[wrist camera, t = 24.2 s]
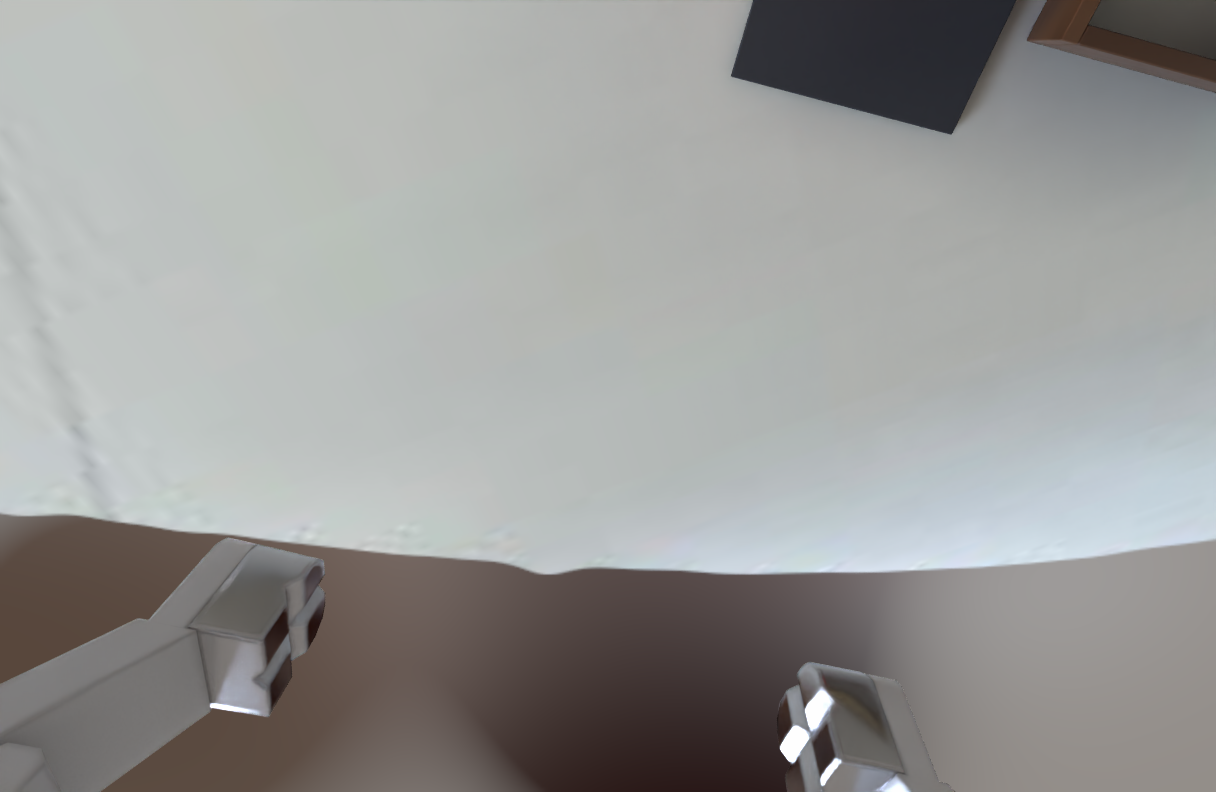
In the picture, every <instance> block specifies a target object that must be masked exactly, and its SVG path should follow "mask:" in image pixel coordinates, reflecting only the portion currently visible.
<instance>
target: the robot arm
mask: <svg viewBox="0 0 1216 792" xmlns="http://www.w3.org/2000/svg"><path fill="white" fill-rule="evenodd" d="M324 575H325V571H324V561H323V560H321V559H316V558H313V557H309V556H304V555H300V554H296V553H292V552H288V551H284V550H280V549H276V548H271V547H267V546H263V545H259V544H254V543H249V542H245V541H241V540H236V539H232V538H226V539H224V540H222V541H221V542H219V543H217V544H216V545H215V546H214V547H213V548H212V549H211V550H210V551H209V553H208V554H207V555H206V556H205V557H204V558H203V559H202V560H201V561H200V563H199V564H198V565H197V566H196V567H195V568H194V569H193V570H192V572H191V573H190V574H189V575H188V576H187V577H186V578H185V579H184V581H183V582H182V583H181V584H180V585H179V586H178V587H177V588H176V590H175V591H174V592H173V593H172V594H171V595H170V596H169V597H168V598H167V600H166V601H165V602H164V603H163V604H162V605H161V606H160V607H159V609H158V610H157V611H156V612H155V613H154V614H153V615H152V616H151V618H150V619H149V620H145V619H139V618H138V619H136V620H134V621H131V622H130V623H127V624H125V625H123V626H121V627H119V628H117V629H115V630H113V631H110V632H108V633H106V634H104V635H102V636H100V637H98V638H96V639H94V640H92V641H90V642H87V643H86V644H83V645H81V646H79V647H77V648H75V649H73V650H71V651H69V652H66V653H65V654H62V655H60V656H58V657H56V658H54V659H52V660H50V661H48V662H46V663H44V664H41V665H39V666H37V667H35V668H33V669H31V670H29V671H27V672H25V673H22V674H20V675H18V676H16V677H14V678H12V679H10V680H8V681H6V682H4V683H2V684H0V792H100V791H102V790H103V789H104V788H106V787H107V786H109V785H110V784H111V783H113V782H114V781H115V780H117V779H118V778H119V777H121V776H122V775H124V774H125V773H126V772H128V771H129V770H131V769H132V768H133V767H135V766H136V765H137V764H139V763H140V762H141V761H143V760H144V759H146V758H147V757H148V756H150V755H151V754H152V753H154V752H155V751H157V750H158V749H159V748H161V747H162V746H163V745H165V744H166V743H168V742H169V741H170V740H172V739H173V738H174V737H176V736H177V735H179V734H180V733H181V732H183V731H184V730H185V729H187V728H188V727H190V726H191V725H192V724H194V723H195V722H196V721H198V720H199V719H201V718H202V717H203V716H205V715H206V714H207V713H209V712H210V711H211V707H213V708H220V709H225V710H231V711H237V712H243V713H249V714H255V715H261V716H267V717H269V715H270V714H271V712H272V710H273V709H274V707H275V705H276V703H277V702H278V700H279V698H280V697H281V695H282V693H283V692H284V690H285V688H286V686H287V685H288V683H289V681H290V680H291V678H292V667H291V661H292V660H294V659H295V658H297V657H299V656H300V655H302V654H304V653H305V652H307V650H308V648H309V646H310V645H311V643H312V641H313V639H314V638H315V636H316V633H317V631H318V628H319V625H320V623H321V620H322V617H323V613H324V607H325V593H324V591H323V590H322V589H321V588H320V587H319V585H318V584H319V583H320V581H321V580H322V578H323V577H324ZM797 677H798V682H799V685H797V686H795V687H793V688H791V689H788V690H787V691H786V693H785V695H784V696H783V698H782V700H781V702H780V706H779V711H778V717H777V733H778V739H779V745H780V749H781V750H782V752H783V753H784V755H785V756H786V757H787V759H788V760H789V761H790V763H791V766H790V768H789V769H788V771H787V773H786V775H785V780H786V786H787V791H788V792H955V791H954V790H953V789H952V788H951V786H950V785H949V784H947V783H943V782H939V780H938V777H937V775H936V772H935V770H934V767H933V764H932V762H931V759H930V757H929V754H928V752H927V749H926V747H925V744H924V742H923V739H922V736H921V734H920V731H919V729H918V726H917V724H916V721H915V718H914V716H913V713H912V711H911V708H910V706H909V703H908V700H907V698H906V695H905V693H904V690H903V688H902V686H901V685H900V684H899V683H898V682H897V681H896V680H893V679H887V678H883V677H879V676H874V675H869V674H864V673H863V672H857V671H853V670H848V669H843V668H837V667H832V666H827V665H822V664H817V663H812V662H808V663H806V664H804V665H803V666H802V668H801V669H800V670H799V672H798V674H797Z"/></svg>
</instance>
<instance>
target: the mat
mask: <svg viewBox="0 0 1216 792" xmlns="http://www.w3.org/2000/svg"><path fill="white" fill-rule="evenodd" d="M1015 2H1016V0H753V3H752V6H751V10H750V13H749V17H748V20H747V23H746V27H745V30H744V34H743V37H742V40H741V44H740V47H739V51H738V54H737V57H736V61H735V64H734V68H733V71H732V74H731V76H732V77H735V78H739V79H743V80H747V81H750V82H754V83H758V84H762V85H765V86H769V87H773V88H777V89H781V90H784V91H788V92H792V93H796V94H799V95H803V96H807V97H811V98H815V99H818V100H822V101H826V102H830V103H833V104H837V105H841V106H845V107H849V108H852V109H856V110H860V111H864V112H867V113H871V114H875V115H879V116H883V117H886V118H890V119H894V120H898V121H901V122H905V123H909V124H913V125H917V126H920V127H924V128H928V129H932V130H935V131H939V132H943V133H947V134H952V133H953V131H954V129H955V127H956V125H957V122H958V120H959V118H960V116H961V114H962V112H963V110H964V108H965V106H966V104H967V102H968V100H969V98H970V95H971V93H972V91H973V89H974V87H975V85H976V83H977V81H978V79H979V77H980V75H981V73H982V71H983V69H984V66H985V64H986V62H987V60H988V58H989V56H990V54H991V52H992V50H993V48H994V46H995V44H996V42H997V39H998V37H999V35H1000V33H1001V31H1002V29H1003V27H1004V25H1005V23H1006V21H1007V19H1008V17H1009V15H1010V12H1011V10H1012V8H1013V6H1014V4H1015Z"/></svg>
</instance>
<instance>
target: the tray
mask: <svg viewBox="0 0 1216 792" xmlns="http://www.w3.org/2000/svg"><path fill="white" fill-rule="evenodd" d="M1100 1H1101V0H1047V1H1046V3H1045V5H1044V7H1043V9H1042V11H1041V13H1040V15H1039V17H1038V19H1037V21H1036V23H1035V25H1034V27H1033V29H1032V31H1031V33H1030V35H1029V37H1028V39H1027V41H1029V42H1033V43H1036V44H1040V45H1044V46H1047V47H1051V48H1055V49H1058V50H1062V51H1065V52H1069V53H1073V54H1076V55H1080V56H1084V57H1087V58H1091V59H1095V60H1098V61H1102V62H1105V63H1109V64H1113V65H1116V66H1120V67H1124V68H1127V69H1131V70H1135V71H1138V72H1142V73H1145V74H1149V75H1153V76H1156V77H1160V78H1164V79H1167V80H1171V81H1174V82H1178V83H1182V84H1185V85H1189V86H1193V87H1196V88H1200V89H1204V90H1207V91H1212V92H1215V93H1216V60H1213V59H1210V58H1206V57H1202V56H1199V55H1195V54H1192V53H1188V52H1185V51H1181V50H1177V49H1174V48H1170V47H1167V46H1163V45H1159V44H1156V43H1152V42H1149V41H1145V40H1141V39H1138V38H1134V37H1131V36H1127V35H1123V34H1120V33H1116V32H1113V31H1109V30H1105V29H1102V28H1098V27H1095V26H1091V25H1088V24H1089V22H1090V20H1091V18H1092V16H1093V14H1094V13H1095V11H1096V9H1097V7H1098V5H1099V3H1100Z"/></svg>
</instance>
